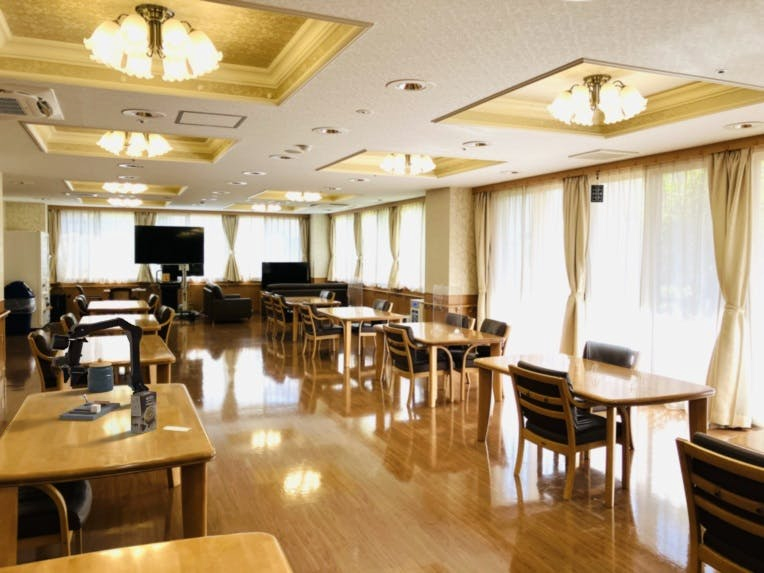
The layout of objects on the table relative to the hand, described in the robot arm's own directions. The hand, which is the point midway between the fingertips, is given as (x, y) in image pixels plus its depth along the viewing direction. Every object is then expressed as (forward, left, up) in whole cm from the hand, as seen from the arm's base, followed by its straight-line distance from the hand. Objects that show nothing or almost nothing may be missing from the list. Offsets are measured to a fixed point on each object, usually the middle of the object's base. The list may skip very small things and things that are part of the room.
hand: (68, 384), depth 270 cm
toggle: (-2, -12, -12) cm, 17 cm away
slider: (-13, 0, -13) cm, 18 cm away
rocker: (-9, -12, -11) cm, 19 cm away
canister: (+13, -49, -15) cm, 53 cm away
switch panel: (-7, -6, -15) cm, 17 cm away
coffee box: (-44, +16, -15) cm, 49 cm away
